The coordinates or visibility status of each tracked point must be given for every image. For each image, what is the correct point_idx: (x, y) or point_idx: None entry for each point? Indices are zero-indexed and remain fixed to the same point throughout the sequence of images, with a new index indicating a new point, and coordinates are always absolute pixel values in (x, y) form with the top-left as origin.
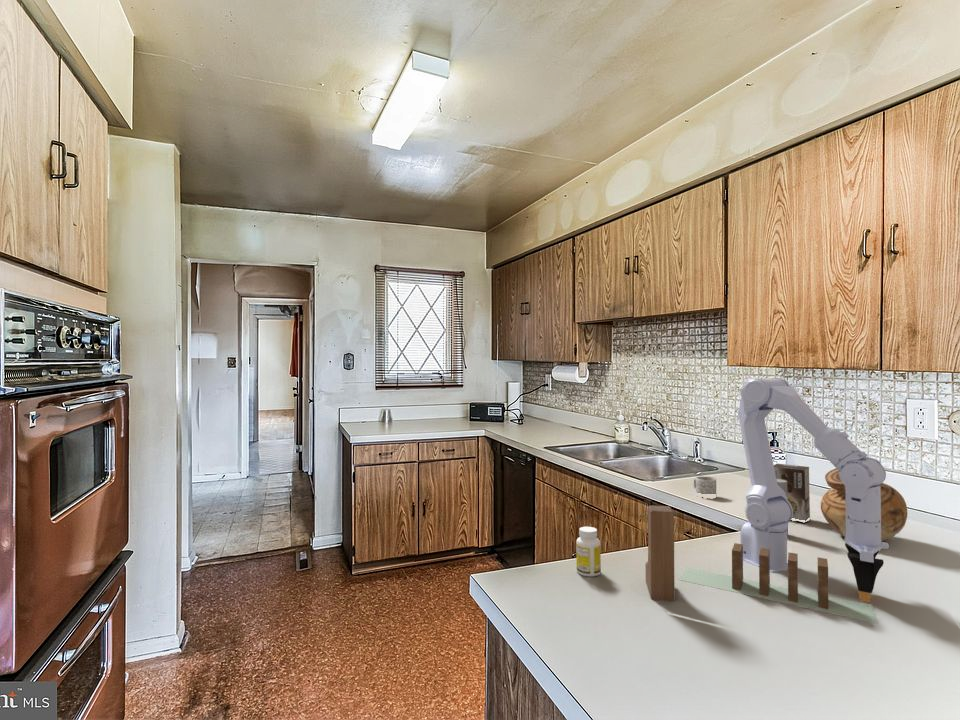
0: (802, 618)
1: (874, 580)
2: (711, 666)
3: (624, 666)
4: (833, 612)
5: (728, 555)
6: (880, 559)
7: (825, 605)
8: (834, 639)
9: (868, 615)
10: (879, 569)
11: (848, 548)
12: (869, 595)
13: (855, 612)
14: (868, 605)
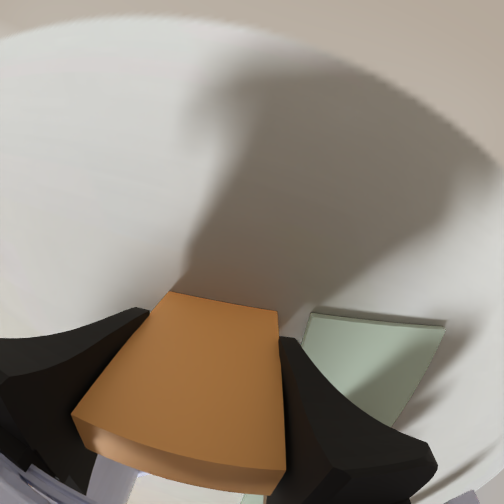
0: None
1: (325, 378)
2: (490, 460)
3: (473, 485)
4: (394, 415)
5: None
6: (348, 486)
7: None
8: (481, 398)
9: (403, 344)
10: (387, 427)
11: (84, 485)
12: (276, 331)
13: (388, 374)
14: (317, 329)
